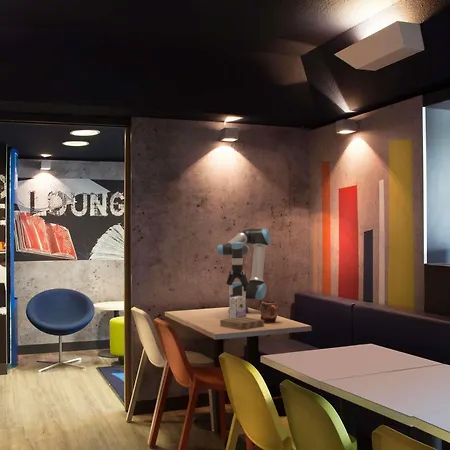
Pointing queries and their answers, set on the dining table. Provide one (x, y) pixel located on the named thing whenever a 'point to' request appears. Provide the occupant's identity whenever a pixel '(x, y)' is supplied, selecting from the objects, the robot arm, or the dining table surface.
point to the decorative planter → (269, 311)
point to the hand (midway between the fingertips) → (237, 295)
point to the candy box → (237, 306)
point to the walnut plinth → (242, 323)
